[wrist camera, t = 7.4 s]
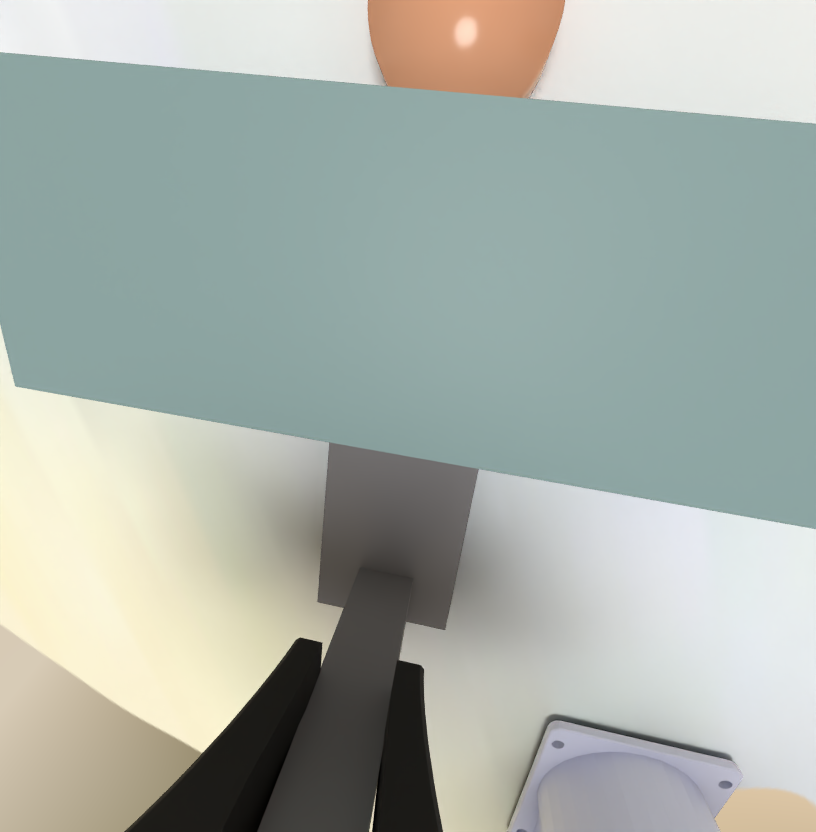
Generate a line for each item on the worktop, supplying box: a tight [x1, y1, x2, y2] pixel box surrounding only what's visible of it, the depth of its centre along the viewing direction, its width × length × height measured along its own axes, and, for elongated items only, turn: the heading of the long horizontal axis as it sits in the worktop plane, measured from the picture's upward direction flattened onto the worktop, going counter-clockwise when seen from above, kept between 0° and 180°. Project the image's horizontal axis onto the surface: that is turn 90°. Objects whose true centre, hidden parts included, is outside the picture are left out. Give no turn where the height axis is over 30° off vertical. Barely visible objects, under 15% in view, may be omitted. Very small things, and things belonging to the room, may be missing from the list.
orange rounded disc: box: [368, 0, 565, 99], centre depth 9 cm, size 4×4×2 cm
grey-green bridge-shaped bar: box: [0, 52, 816, 529], centre depth 10 cm, size 7×20×4 cm, turn 83°
